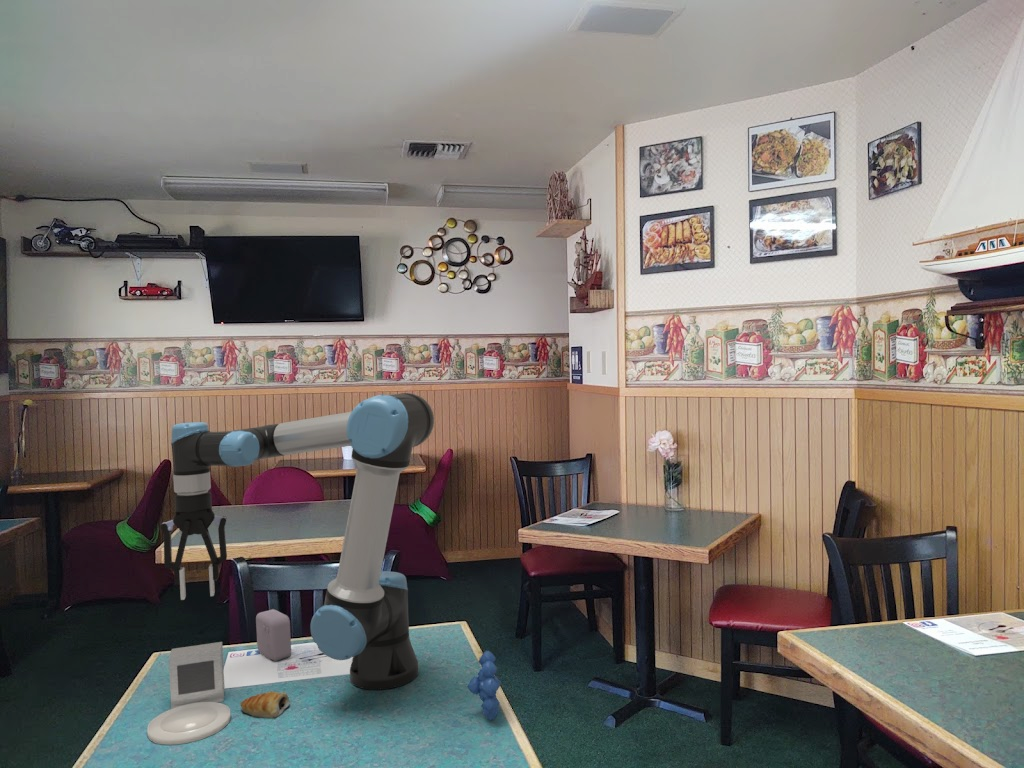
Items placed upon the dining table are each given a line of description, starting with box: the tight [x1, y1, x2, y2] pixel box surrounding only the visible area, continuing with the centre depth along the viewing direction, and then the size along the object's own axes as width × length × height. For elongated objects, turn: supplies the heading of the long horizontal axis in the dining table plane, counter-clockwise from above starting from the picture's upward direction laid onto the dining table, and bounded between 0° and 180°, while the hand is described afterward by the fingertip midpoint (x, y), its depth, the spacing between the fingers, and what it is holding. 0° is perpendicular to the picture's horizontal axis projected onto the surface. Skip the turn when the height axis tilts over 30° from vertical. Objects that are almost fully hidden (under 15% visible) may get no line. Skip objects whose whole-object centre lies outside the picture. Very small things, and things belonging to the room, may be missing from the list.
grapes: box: [466, 650, 502, 721], centre depth 146 cm, size 12×7×12 cm, turn 7°
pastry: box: [240, 691, 290, 719], centre depth 152 cm, size 9×7×4 cm
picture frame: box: [168, 641, 226, 709], centre depth 157 cm, size 10×6×11 cm, turn 108°
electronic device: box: [255, 608, 292, 662], centre depth 181 cm, size 10×5×10 cm, turn 43°
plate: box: [146, 702, 231, 746], centre depth 146 cm, size 15×15×1 cm
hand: (197, 596), depth 165 cm, fingers open, 5 cm apart
